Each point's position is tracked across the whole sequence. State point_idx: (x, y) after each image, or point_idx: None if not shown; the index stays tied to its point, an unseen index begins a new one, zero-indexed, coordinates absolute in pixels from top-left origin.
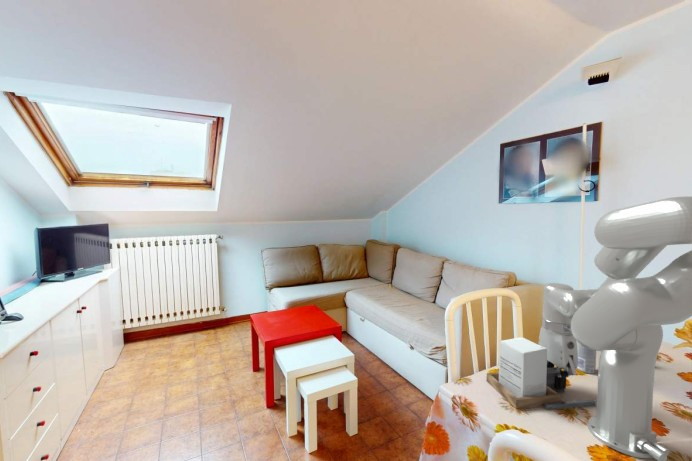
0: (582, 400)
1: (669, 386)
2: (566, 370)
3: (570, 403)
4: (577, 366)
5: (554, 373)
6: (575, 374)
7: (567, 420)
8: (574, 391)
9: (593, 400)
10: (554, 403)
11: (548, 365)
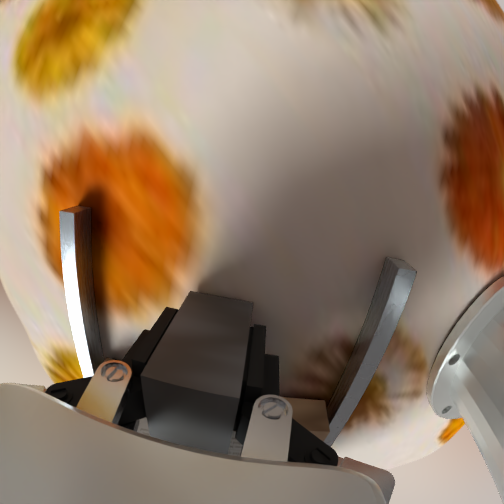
0: (378, 334)
1: None
2: (281, 457)
3: (359, 399)
4: (383, 495)
5: (228, 450)
6: (386, 482)
7: (379, 426)
8: (260, 223)
9: (407, 276)
10: (326, 440)
11: (125, 417)
